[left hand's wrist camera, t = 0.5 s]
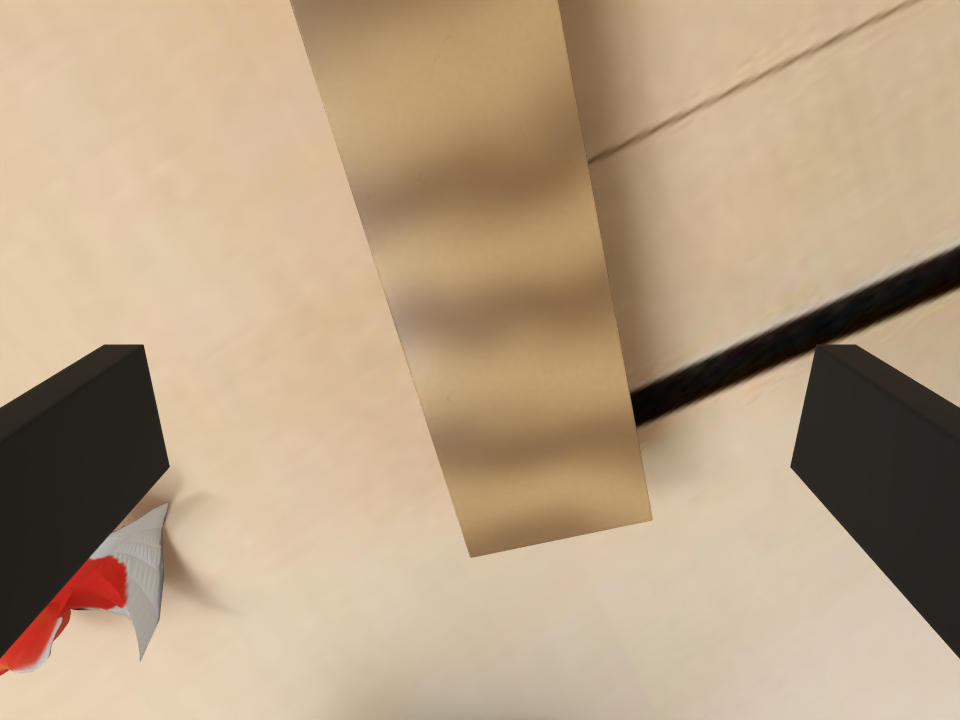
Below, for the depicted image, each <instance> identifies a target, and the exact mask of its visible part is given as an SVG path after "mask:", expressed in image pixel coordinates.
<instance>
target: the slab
mask: <svg viewBox="0 0 960 720" xmlns="http://www.w3.org/2000/svg"><path fill="white" fill-rule="evenodd" d="M290 3H291V6H292V9H293V12H294V15H295V18H296V21H297V24H298V27H299V30H300V34H301V37H302V40H303V43H304V46H305V49H306V52H307V55H308V58H309V61H310V64H311V68H312V71H313V74H314V77H315V80H316V83H317V86H318V89H319V92H320V95H321V98H322V101H323V105H324V108H325V111H326V114H327V117H328V120H329V123H330V126H331V129H332V132H333V135H334V139H335V142H336V145H337V148H338V151H339V154H340V157H341V160H342V163H343V166H344V169H345V172H346V176H347V179H348V182H349V185H350V188H351V191H352V194H353V197H354V200H355V203H356V206H357V209H358V213H359V216H360V219H361V222H362V225H363V228H364V231H365V234H366V237H367V240H368V243H369V247H370V250H371V253H372V256H373V259H374V262H375V265H376V268H377V271H378V274H379V277H380V280H381V284H382V287H383V290H384V293H385V296H386V299H387V302H388V305H389V308H390V311H391V314H392V317H393V321H394V324H395V327H396V330H397V333H398V336H399V339H400V342H401V345H402V348H403V351H404V355H405V358H406V361H407V364H408V367H409V370H410V373H411V376H412V379H413V382H414V385H415V388H416V392H417V395H418V398H419V401H420V404H421V407H422V410H423V413H424V416H425V419H426V422H427V426H428V429H429V432H430V435H431V438H432V441H433V444H434V447H435V450H436V453H437V456H438V459H439V463H440V466H441V469H442V472H443V475H444V478H445V481H446V484H447V487H448V490H449V493H450V496H451V500H452V503H453V506H454V509H455V512H456V515H457V518H458V521H459V524H460V527H461V530H462V534H463V537H464V540H465V543H466V546H467V549H468V552H469V555H470V557H471V558H472V557H477V556H482V555H487V554H491V553H496V552H501V551H506V550H511V549H516V548H521V547H525V546H530V545H535V544H540V543H545V542H550V541H554V540H559V539H564V538H569V537H574V536H579V535H584V534H588V533H593V532H598V531H603V530H608V529H613V528H617V527H622V526H627V525H632V524H637V523H642V522H646V521H651V520H652V519H653V518H652V513H651V507H650V502H649V496H648V491H647V485H646V480H645V474H644V469H643V463H642V458H641V452H640V447H639V442H638V436H637V431H636V425H635V420H634V414H633V409H632V403H631V398H630V392H629V387H628V381H627V376H626V370H625V365H624V359H623V354H622V348H621V343H620V337H619V332H618V326H617V321H616V315H615V310H614V305H613V299H612V294H611V288H610V283H609V277H608V272H607V266H606V261H605V255H604V250H603V244H602V239H601V233H600V228H599V222H598V217H597V211H596V206H595V200H594V195H593V189H592V184H591V178H590V173H589V168H588V162H587V157H586V151H585V146H584V140H583V135H582V129H581V124H580V118H579V113H578V107H577V102H576V96H575V91H574V85H573V80H572V74H571V69H570V63H569V58H568V52H567V47H566V42H565V36H564V31H563V25H562V20H561V14H560V9H559V3H558V0H290Z"/></svg>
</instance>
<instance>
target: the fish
mask: <svg viewBox="0 0 960 720" xmlns="http://www.w3.org/2000/svg"><path fill="white" fill-rule="evenodd" d="M168 506H169V502H166V503H164V504H162V505H159V506H157V507H156V508H154V509H152V510H151V511H149V512H148V513H146V514H145V515H143V516H142V517H140V518H139V519H137V520H136V521H134V522H132V523H130V524H128V525H126V526H124V527H122V528H120V529H118V530H116V531H114V532H112V533H111V534H110V535H109V536H108V537H107V539H106V540H105V541H104V542H103V543H102V544H101V545H100V546H99V548H98V549H97V550H96V551H95V552H94V553H93V554H92V555H91V557H90V558H89V559H88V560H87V561H86V562H85V563H84V565H83V566H82V567H81V568H80V569H79V570H78V571H77V572H76V574H75V575H74V576H73V577H72V578H71V579H70V580H69V581H68V583H67V584H66V585H65V586H64V587H63V588H62V589H61V591H60V592H59V593H58V594H57V595H56V596H55V597H54V598H53V600H52V601H51V602H50V603H49V604H48V605H47V606H46V608H45V609H44V610H43V611H42V612H41V613H40V614H39V615H38V617H37V618H36V619H35V620H34V621H33V622H32V623H31V624H30V626H29V627H28V628H27V629H26V630H25V631H24V632H23V634H22V635H21V636H20V637H19V638H18V639H17V640H16V641H15V643H14V644H13V645H12V646H11V647H10V648H9V649H8V650H7V652H6V653H5V654H4V655H3V656H2V657H1V658H0V675H2V674H4V673H6V672H7V671H9V670H12V671H13V672H16V673H25V672H32V671H34V670H36V669H37V668H39V667H40V666H41V665H42V664H43V663H44V662H45V661H46V660H47V659H48V657H49V656H50V653H51V646H52V643H53V641H54V640H55V639H56V638H57V637H58V636H59V635H60V633H61V632H62V631H63V630H64V628H65V627H66V625H67V624H68V622H69V620H70V615H71V610H70V609H73V610H107V611H111V612H114V613H117V614H122V615H126V616H128V617H129V619H130V620H131V621H132V624H133V626H134V629H135V631H136V635H137V639H138V645H139V651H140V661H141V659H142V657H143V655H144V652H145V650H146V648H147V646H148V644H149V641H150V639H151V637H152V635H153V633H154V630H155V628H156V626H157V624H158V622H159V619H160V609H161V599H162V589H163V580H164V571H163V543H162V527H163V524H164V521H165V518H166V514H167V510H168Z"/></svg>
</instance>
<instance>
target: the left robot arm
mask: <svg viewBox="0 0 960 720" xmlns="http://www.w3.org/2000/svg"><path fill="white" fill-rule="evenodd" d="M169 467H170V466H169V461H168V457H167V452H166V447H165V443H164V438H163V433H162V429H161V424H160V419H159V415H158V410H157V405H156V401H155V396H154V391H153V387H152V382H151V377H150V372H149V368H148V363H147V358H146V354H145V349H144V345H103V346H101V347H100V348H98V349H96V350H95V351H93V352H91V353H90V354H88V355H86V356H85V357H83V358H81V359H80V360H78V361H76V362H75V363H73V364H72V365H70V366H68V367H67V368H65V369H63V370H62V371H60V372H58V373H57V374H55V375H53V376H52V377H50V378H49V379H47V380H45V381H44V382H42V383H40V384H39V385H37V386H35V387H34V388H32V389H30V390H29V391H27V392H26V393H24V394H22V395H21V396H19V397H17V398H16V399H14V400H12V401H11V402H9V403H7V404H6V405H4V406H3V407H1V408H0V658H1V657H2V656H3V655H4V654H5V653H6V652H7V650H8V649H9V648H10V647H11V646H12V645H13V644H14V643H15V641H16V640H17V639H18V638H19V637H20V636H21V635H22V634H23V632H24V631H25V630H26V629H27V628H28V627H29V626H30V624H31V623H32V622H33V621H34V620H35V619H36V618H37V617H38V615H39V614H40V613H41V612H42V611H43V610H44V609H45V608H46V606H47V605H48V604H49V603H50V602H51V601H52V600H53V598H54V597H55V596H56V595H57V594H58V593H59V592H60V591H61V589H62V588H63V587H64V586H65V585H66V584H67V583H68V581H69V580H70V579H71V578H72V577H73V576H74V575H75V574H76V572H77V571H78V570H79V569H80V568H81V567H82V566H83V565H84V563H85V562H86V561H87V560H88V559H89V558H90V557H91V555H92V554H93V553H94V552H95V551H96V550H97V549H98V548H99V546H100V545H101V544H102V543H103V542H104V541H105V540H106V539H107V537H108V536H109V535H110V534H111V533H112V532H113V531H114V529H115V528H116V527H117V526H118V525H119V524H120V523H121V522H122V520H123V519H124V518H125V517H126V516H127V515H128V514H129V512H130V511H131V510H132V509H133V508H134V507H135V506H136V505H137V503H138V502H139V501H140V500H141V499H142V498H143V497H144V496H145V494H146V493H147V492H148V491H149V490H150V489H151V488H152V486H153V485H154V484H155V483H156V482H157V481H158V480H159V479H160V477H161V476H162V475H163V474H164V473H165V472H166V471H167V470H168V468H169ZM790 467H791V468H792V470H793V471H794V472H795V473H796V474H797V475H798V476H799V477H800V479H801V480H802V481H803V482H804V483H805V484H806V485H807V486H808V488H809V489H810V490H811V491H812V492H813V493H814V494H815V496H816V497H817V498H818V499H819V500H820V501H821V502H822V503H823V505H824V506H825V507H826V508H827V509H828V510H829V511H830V512H831V514H832V515H833V516H834V517H835V518H836V519H837V520H838V522H839V523H840V524H841V525H842V526H843V527H844V528H845V529H846V531H847V532H848V533H849V534H850V535H851V536H852V537H853V539H854V540H855V541H856V542H857V543H858V544H859V545H860V546H861V548H862V549H863V550H864V551H865V552H866V553H867V554H868V555H869V557H870V558H871V559H872V560H873V561H874V562H875V563H876V565H877V566H878V567H879V568H880V569H881V570H882V571H883V572H884V574H885V575H886V576H887V577H888V578H889V579H890V580H891V581H892V583H893V584H894V585H895V586H896V587H897V588H898V589H899V591H900V592H901V593H902V594H903V595H904V596H905V597H906V598H907V600H908V601H909V602H910V603H911V604H912V605H913V606H914V608H915V609H916V610H917V611H918V612H919V613H920V614H921V615H922V617H923V618H924V619H925V620H926V621H927V622H928V623H929V624H930V626H931V627H932V628H933V629H934V630H935V631H936V632H937V634H938V635H939V636H940V637H941V638H942V639H943V640H944V641H945V643H946V644H947V645H948V646H949V647H950V648H951V649H952V650H953V652H954V653H955V654H956V655H957V656H958V657H959V658H960V408H959V407H957V406H956V405H954V404H953V403H951V402H949V401H948V400H946V399H944V398H943V397H941V396H939V395H938V394H936V393H934V392H933V391H931V390H930V389H928V388H926V387H925V386H923V385H921V384H920V383H918V382H916V381H915V380H913V379H911V378H910V377H908V376H907V375H905V374H903V373H902V372H900V371H898V370H897V369H895V368H893V367H892V366H890V365H888V364H887V363H885V362H884V361H882V360H880V359H879V358H877V357H875V356H874V355H872V354H870V353H869V352H867V351H865V350H864V349H862V348H860V347H859V346H857V345H816V349H815V354H814V358H813V363H812V368H811V372H810V377H809V382H808V387H807V391H806V396H805V401H804V405H803V410H802V415H801V419H800V424H799V429H798V433H797V438H796V443H795V447H794V452H793V457H792V461H791V466H790Z"/></svg>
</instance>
